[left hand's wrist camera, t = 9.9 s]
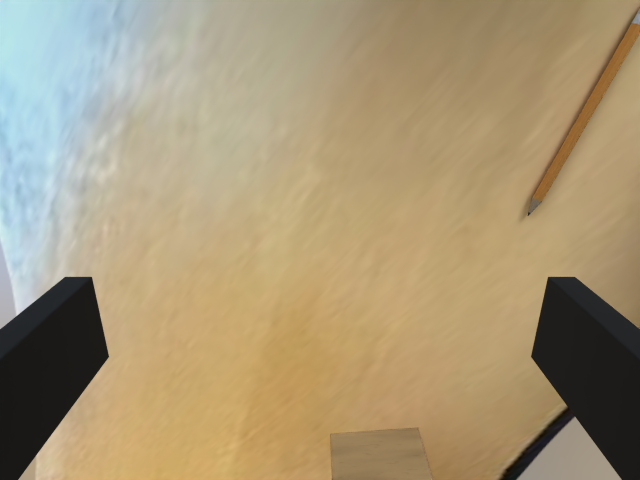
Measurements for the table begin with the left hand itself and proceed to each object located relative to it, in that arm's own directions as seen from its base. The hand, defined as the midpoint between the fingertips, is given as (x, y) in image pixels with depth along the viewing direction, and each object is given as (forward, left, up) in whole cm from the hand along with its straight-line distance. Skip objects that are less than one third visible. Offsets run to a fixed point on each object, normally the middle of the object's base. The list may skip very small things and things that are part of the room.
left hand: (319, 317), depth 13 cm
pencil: (-14, +18, -28) cm, 36 cm away
